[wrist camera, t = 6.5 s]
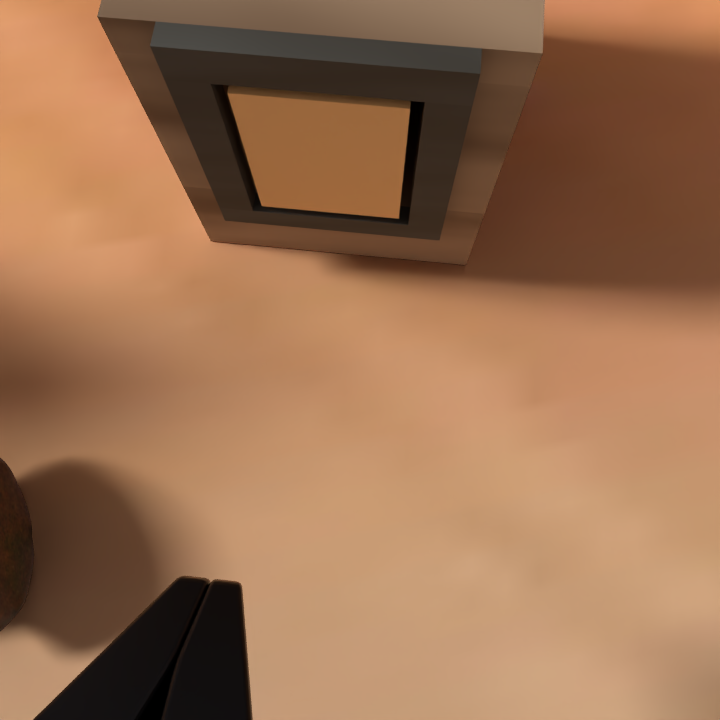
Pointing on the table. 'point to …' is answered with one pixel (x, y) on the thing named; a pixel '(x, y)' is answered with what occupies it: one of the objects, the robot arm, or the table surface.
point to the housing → (340, 77)
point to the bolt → (13, 547)
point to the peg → (323, 149)
